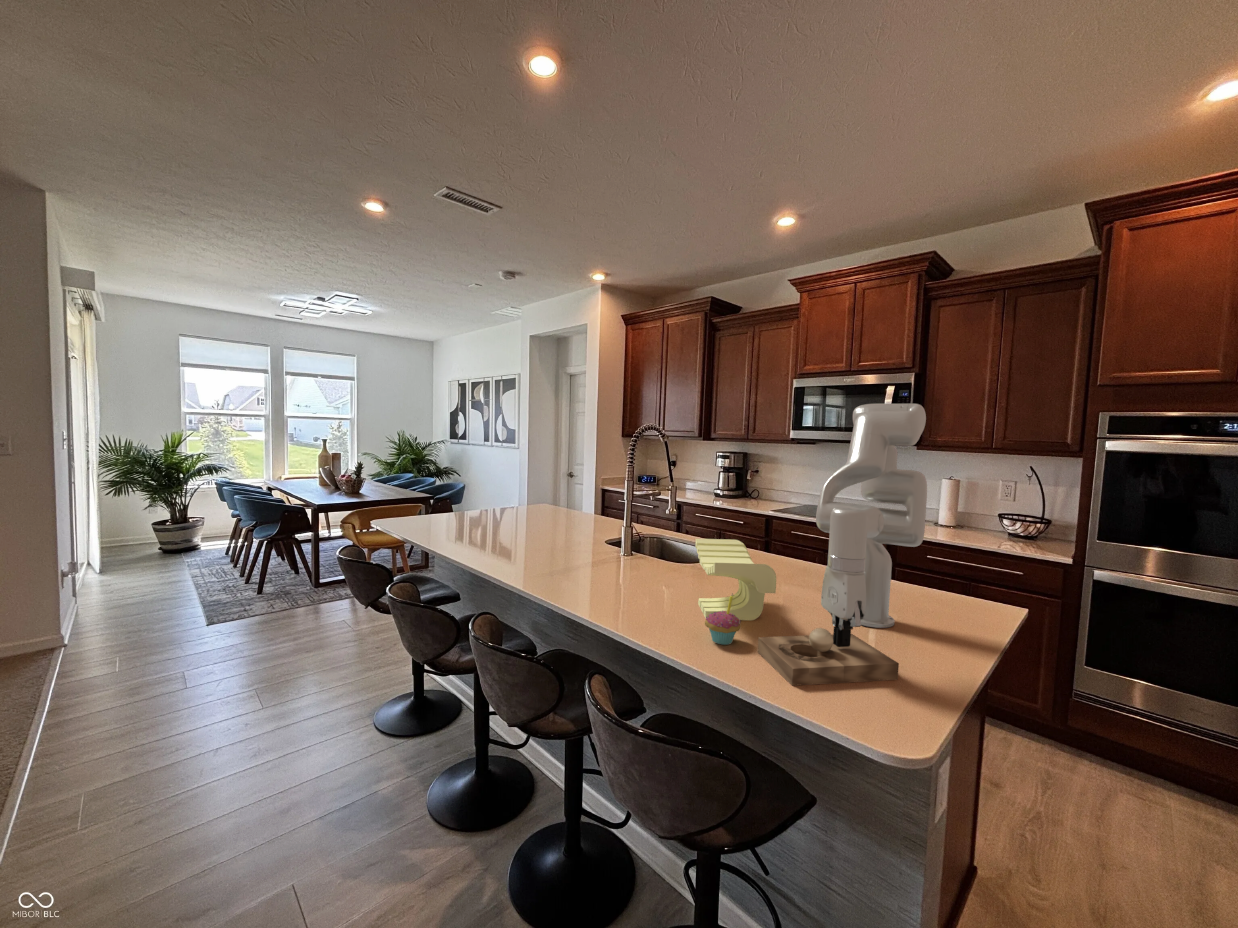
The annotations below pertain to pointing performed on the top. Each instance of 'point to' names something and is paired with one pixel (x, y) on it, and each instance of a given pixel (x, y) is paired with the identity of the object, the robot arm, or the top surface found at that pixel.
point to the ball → (821, 639)
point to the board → (826, 661)
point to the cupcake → (723, 625)
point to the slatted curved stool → (737, 564)
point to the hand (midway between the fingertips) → (841, 644)
